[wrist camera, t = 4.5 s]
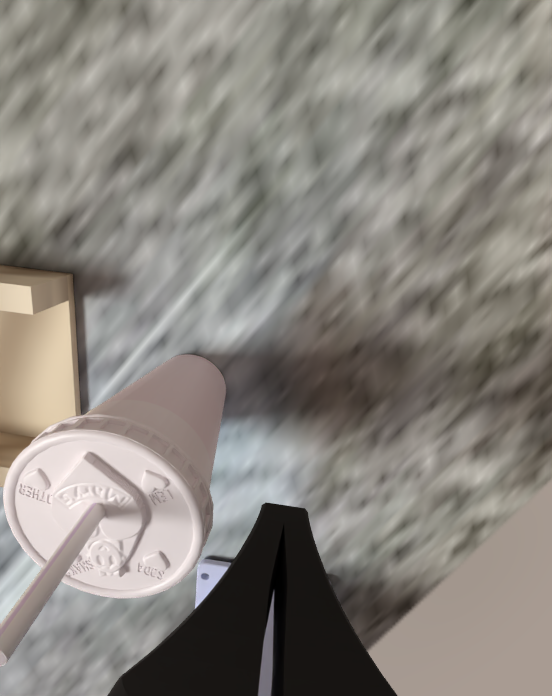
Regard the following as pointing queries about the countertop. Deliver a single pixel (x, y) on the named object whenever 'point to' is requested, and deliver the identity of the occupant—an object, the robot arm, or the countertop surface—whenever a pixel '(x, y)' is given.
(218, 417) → the smoothie
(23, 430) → the u rest
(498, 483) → the countertop surface
